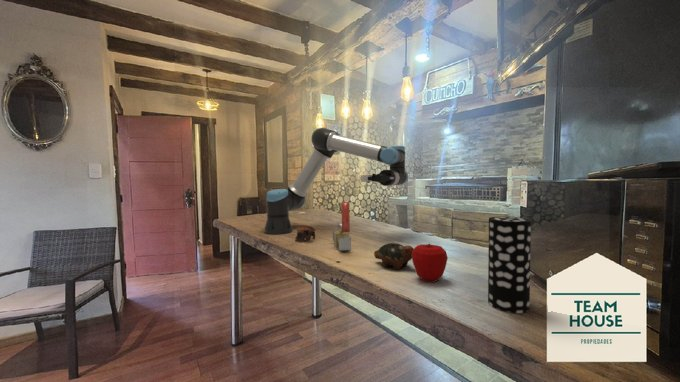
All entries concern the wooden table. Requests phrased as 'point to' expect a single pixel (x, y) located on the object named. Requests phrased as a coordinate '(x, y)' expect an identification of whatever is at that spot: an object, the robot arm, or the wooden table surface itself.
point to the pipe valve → (341, 240)
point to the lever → (345, 218)
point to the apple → (429, 261)
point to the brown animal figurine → (305, 233)
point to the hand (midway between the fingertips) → (362, 178)
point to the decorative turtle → (394, 255)
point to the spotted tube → (509, 264)
